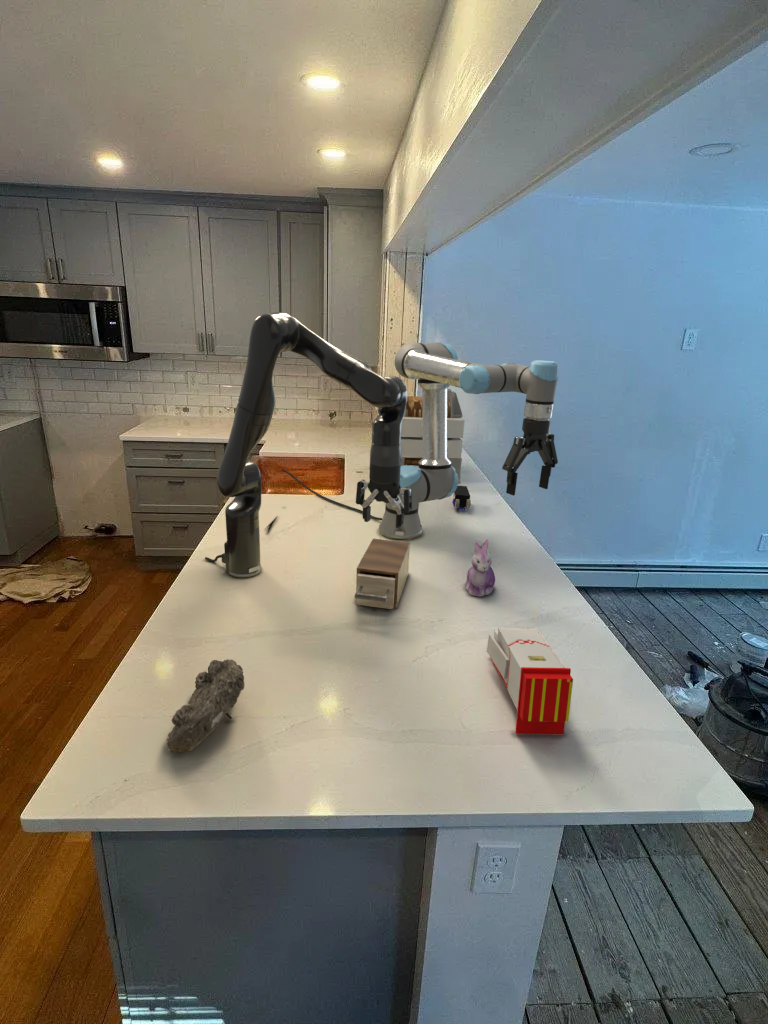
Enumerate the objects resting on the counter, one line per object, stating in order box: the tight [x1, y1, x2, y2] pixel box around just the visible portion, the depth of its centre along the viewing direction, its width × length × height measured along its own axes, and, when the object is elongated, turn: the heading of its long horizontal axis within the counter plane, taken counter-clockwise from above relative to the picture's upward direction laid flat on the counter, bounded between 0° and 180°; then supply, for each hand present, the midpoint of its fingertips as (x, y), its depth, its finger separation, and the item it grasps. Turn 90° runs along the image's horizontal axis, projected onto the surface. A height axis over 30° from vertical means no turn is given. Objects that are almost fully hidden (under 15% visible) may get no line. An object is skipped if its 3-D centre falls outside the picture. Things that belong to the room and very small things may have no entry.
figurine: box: [465, 539, 496, 597], centre depth 159 cm, size 9×10×15 cm
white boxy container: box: [401, 388, 465, 484], centre depth 268 cm, size 34×33×41 cm
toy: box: [486, 627, 574, 736], centre depth 118 cm, size 12×13×30 cm
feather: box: [264, 516, 278, 533], centre depth 207 cm, size 2×28×2 cm
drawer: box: [354, 571, 395, 610], centre depth 154 cm, size 25×10×8 cm, turn 169°
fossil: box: [166, 658, 245, 754], centre depth 106 cm, size 22×10×15 cm
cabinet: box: [355, 538, 411, 609], centre depth 159 cm, size 21×11×10 cm, turn 169°
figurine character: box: [451, 485, 472, 513], centre depth 228 cm, size 7×8×15 cm
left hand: (382, 524), depth 142 cm, fingers open, 8 cm apart
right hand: (527, 490), depth 165 cm, fingers open, 13 cm apart
